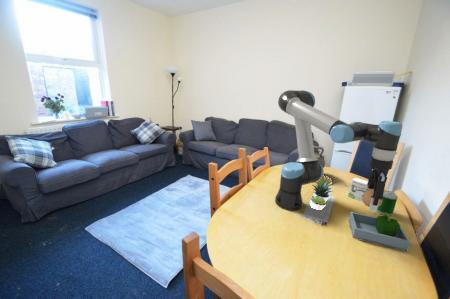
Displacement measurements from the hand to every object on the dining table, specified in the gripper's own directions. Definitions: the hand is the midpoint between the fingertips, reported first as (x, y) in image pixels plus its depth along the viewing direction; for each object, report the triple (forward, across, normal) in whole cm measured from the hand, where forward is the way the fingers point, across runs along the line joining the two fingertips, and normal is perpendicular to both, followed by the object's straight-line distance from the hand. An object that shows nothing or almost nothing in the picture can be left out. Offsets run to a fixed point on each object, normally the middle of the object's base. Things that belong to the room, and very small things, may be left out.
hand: (370, 206), depth 94 cm
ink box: (+14, +36, -2) cm, 38 cm away
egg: (0, 0, 0) cm, 0 cm away
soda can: (+14, +24, -13) cm, 30 cm away
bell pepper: (+13, +1, -8) cm, 15 cm away
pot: (+13, +62, +27) cm, 68 cm away
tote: (+14, 0, -4) cm, 14 cm away
